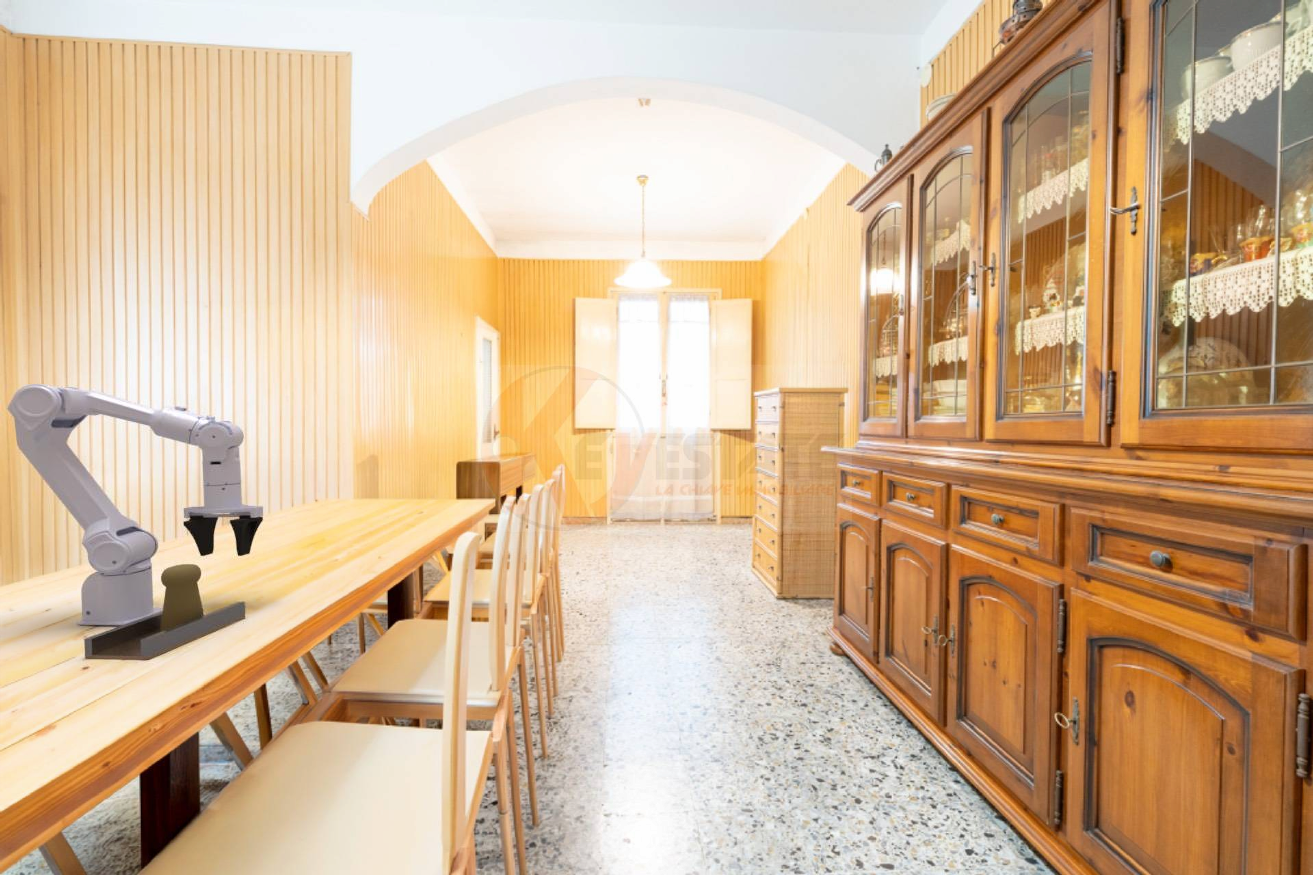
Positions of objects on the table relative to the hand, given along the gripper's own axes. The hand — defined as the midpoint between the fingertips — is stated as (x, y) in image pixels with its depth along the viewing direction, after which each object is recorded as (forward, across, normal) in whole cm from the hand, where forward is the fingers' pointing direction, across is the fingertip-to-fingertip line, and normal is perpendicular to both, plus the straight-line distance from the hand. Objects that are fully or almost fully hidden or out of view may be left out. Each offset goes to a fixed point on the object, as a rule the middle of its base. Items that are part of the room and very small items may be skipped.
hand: (225, 554), depth 107 cm
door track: (+10, -3, +14) cm, 18 cm away
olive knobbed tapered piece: (+10, -3, +12) cm, 16 cm away
